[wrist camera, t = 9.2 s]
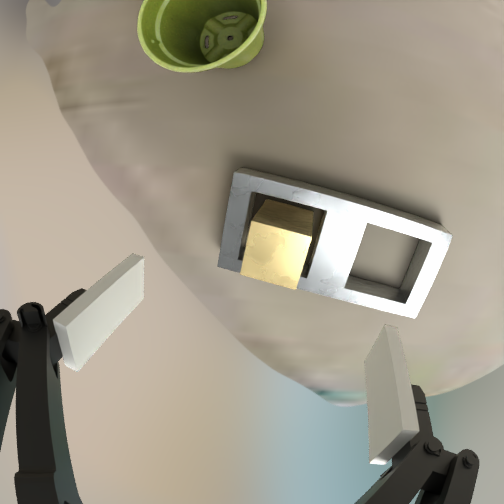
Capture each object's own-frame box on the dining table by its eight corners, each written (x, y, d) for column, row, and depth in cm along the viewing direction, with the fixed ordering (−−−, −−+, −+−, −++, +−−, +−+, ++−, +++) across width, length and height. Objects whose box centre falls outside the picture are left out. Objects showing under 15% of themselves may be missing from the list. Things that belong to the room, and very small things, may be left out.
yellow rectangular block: (266, 198, 29) (251, 220, 23) (313, 211, 28) (312, 237, 22) (256, 242, 31) (239, 274, 24) (301, 254, 30) (295, 289, 24)
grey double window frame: (242, 167, 28) (234, 172, 25) (441, 224, 26) (452, 235, 23) (226, 253, 32) (217, 266, 29) (408, 302, 30) (415, 318, 27)
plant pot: (186, 92, 26) (138, 84, 18) (181, 8, 23) (136, -22, 15) (285, 81, 24) (272, 61, 16) (277, -8, 21) (260, -52, 13)
